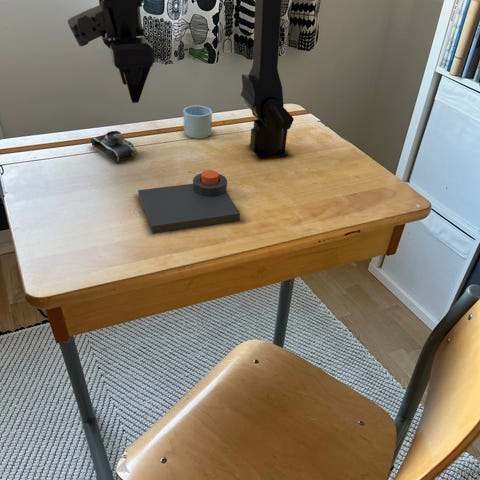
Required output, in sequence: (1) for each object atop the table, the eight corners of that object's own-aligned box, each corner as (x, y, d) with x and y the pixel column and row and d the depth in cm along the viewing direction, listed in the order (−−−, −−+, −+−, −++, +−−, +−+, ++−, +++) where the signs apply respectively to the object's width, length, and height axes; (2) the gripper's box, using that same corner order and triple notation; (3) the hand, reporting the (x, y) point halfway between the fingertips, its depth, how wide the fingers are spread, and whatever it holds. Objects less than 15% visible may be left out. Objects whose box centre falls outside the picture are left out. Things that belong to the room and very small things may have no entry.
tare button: (215, 177, 92) (215, 169, 91) (220, 184, 90) (220, 176, 89) (199, 179, 92) (199, 170, 91) (204, 186, 90) (204, 178, 88)
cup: (207, 127, 115) (207, 104, 112) (214, 138, 111) (215, 114, 108) (181, 129, 114) (180, 106, 110) (188, 140, 109) (187, 117, 106)
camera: (112, 140, 108) (110, 120, 105) (139, 158, 102) (137, 137, 100) (90, 146, 105) (87, 126, 102) (117, 165, 100) (115, 144, 97)
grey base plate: (220, 185, 96) (221, 170, 94) (242, 220, 87) (243, 204, 85) (138, 195, 91) (136, 180, 89) (152, 233, 83) (150, 217, 81)
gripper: (61, -22, 84) (78, 78, 94) (71, 4, 71) (89, 117, 81) (129, -24, 86) (138, 74, 97) (151, 1, 74) (159, 111, 84)
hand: (130, 93), depth 90 cm, fingers open, 9 cm apart
